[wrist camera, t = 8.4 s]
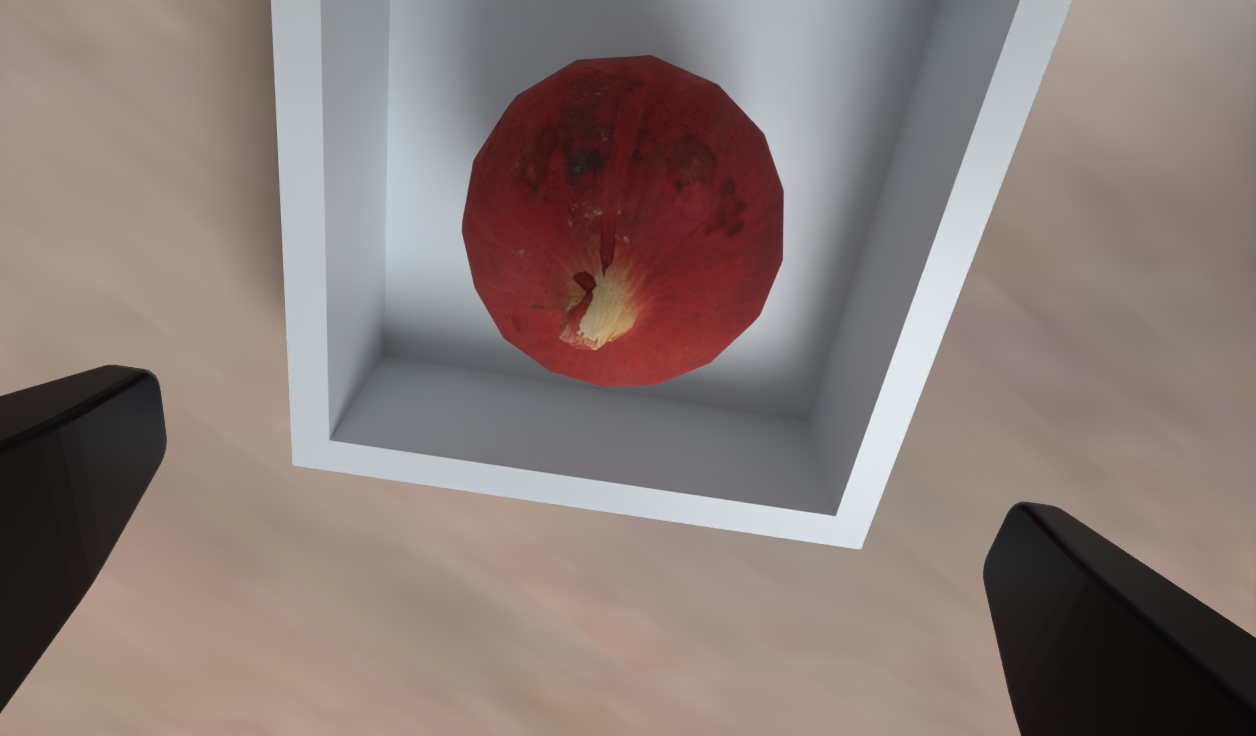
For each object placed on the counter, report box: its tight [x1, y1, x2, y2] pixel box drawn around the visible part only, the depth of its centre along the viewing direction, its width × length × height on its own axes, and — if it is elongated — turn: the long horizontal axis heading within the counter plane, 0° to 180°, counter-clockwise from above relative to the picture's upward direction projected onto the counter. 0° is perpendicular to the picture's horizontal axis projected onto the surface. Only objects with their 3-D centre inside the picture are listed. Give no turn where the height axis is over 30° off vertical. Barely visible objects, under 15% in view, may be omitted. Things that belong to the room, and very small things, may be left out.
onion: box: [462, 55, 784, 387], centre depth 15 cm, size 6×6×8 cm
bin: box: [271, 0, 1072, 549], centre depth 17 cm, size 13×13×4 cm
